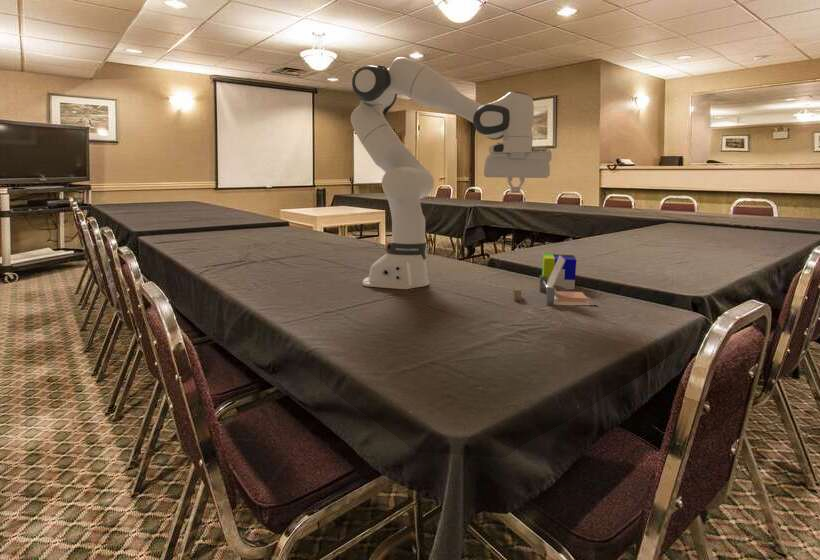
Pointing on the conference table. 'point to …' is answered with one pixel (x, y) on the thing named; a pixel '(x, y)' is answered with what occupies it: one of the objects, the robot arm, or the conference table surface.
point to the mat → (567, 303)
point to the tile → (570, 297)
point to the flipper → (555, 275)
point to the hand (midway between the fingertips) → (515, 192)
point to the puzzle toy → (567, 272)
